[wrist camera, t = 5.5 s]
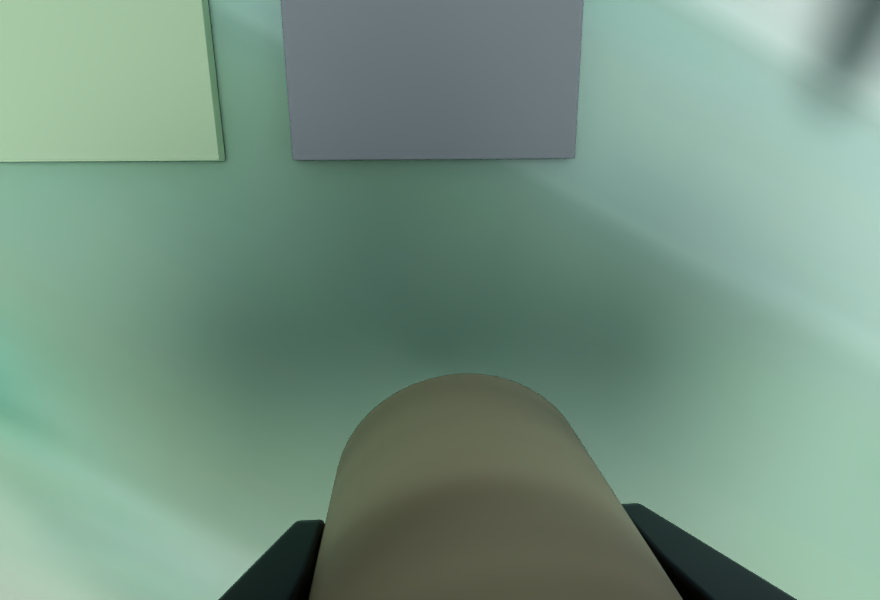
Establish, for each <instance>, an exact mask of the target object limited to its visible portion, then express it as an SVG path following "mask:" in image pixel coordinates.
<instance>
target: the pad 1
mask: <svg viewBox="0 0 880 600" xmlns="http://www.w3.org/2000/svg"><path fill="white" fill-rule="evenodd" d="M87 161H225V153H224V144H223V135H222V126H221V116H220V107H219V98H218V88H217V79H216V70H215V60H214V51H213V42H212V33H211V23H210V14H209V5H208V0H0V162H87Z"/></svg>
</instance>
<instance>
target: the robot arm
mask: <svg viewBox="0 0 880 600" xmlns="http://www.w3.org/2000/svg"><path fill="white" fill-rule="evenodd" d="M621 505H622V506H623V508H624V509H625V511H626V512H627V514H628V515H629V517H630V519H631V520H632V522H633V523H634V525H635V526H636V528H637V529H638V531H639V532H640V534H641V536H642V537H643V539H644V540H645V542H646V543H647V545H648V546H649V548H650V549H651V551H652V553H653V554H654V556H655V557H656V559H657V560H658V562H659V563H660V565H661V566H662V568H663V570H664V571H665V573H666V574H667V576H668V577H669V579H670V580H671V582H672V584H673V585H674V587H675V588H676V590H677V591H678V593H679V594H680V596H681V597H682V599H683V600H797V599H795V598H794V597H792V596H790V595H789V594H787V593H785V592H784V591H782V590H780V589H779V588H777V587H775V586H774V585H772V584H771V583H769V582H767V581H766V580H764V579H762V578H761V577H759V576H757V575H756V574H754V573H753V572H751V571H749V570H748V569H746V568H744V567H743V566H741V565H739V564H738V563H736V562H735V561H733V560H731V559H730V558H728V557H726V556H725V555H723V554H721V553H720V552H718V551H717V550H715V549H713V548H712V547H710V546H708V545H707V544H705V543H703V542H702V541H700V540H699V539H697V538H695V537H694V536H692V535H690V534H689V533H687V532H685V531H684V530H682V529H681V528H679V527H677V526H676V525H674V524H672V523H671V522H669V521H667V520H666V519H664V518H663V517H661V516H659V515H658V514H656V513H654V512H653V511H651V510H649V509H648V508H646V507H645V506H643V505H641V504H638V503H631V504H621ZM324 527H325V523H324V522H323V521H322V520H301V521H297V522H295V523H294V524H293V525H292V526H291V527H290V528H289V529H288V530H287V531H286V532H285V533H284V534H283V535H282V536H281V537H280V538H279V539H278V540H277V541H276V542H275V543H274V544H273V545H272V546H271V547H270V548H269V549H268V550H267V551H266V552H265V553H264V554H263V555H262V556H261V557H260V558H259V559H258V560H257V561H256V562H255V563H254V564H253V565H252V566H251V567H250V568H249V569H248V570H247V571H246V572H245V573H244V574H243V575H242V576H241V577H240V578H239V579H238V580H237V581H236V582H235V583H234V584H233V585H232V586H231V587H230V588H229V589H228V590H227V591H226V592H225V594H224V595H223V596H222V597H221V598H220V599H219V600H308V599H309V594H310V590H311V585H312V581H313V576H314V572H315V567H316V563H317V558H318V554H319V549H320V545H321V540H322V536H323V531H324Z"/></svg>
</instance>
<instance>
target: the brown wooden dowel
mask: <svg viewBox="0 0 880 600" xmlns="http://www.w3.org/2000/svg"><path fill="white" fill-rule="evenodd" d="M308 600H683V599H682V597H681V596H680V594H679V593H678V591H677V590H676V588H675V587H674V585H673V584H672V582H671V580H670V579H669V577H668V576H667V574H666V573H665V571H664V570H663V568H662V566H661V565H660V563H659V562H658V560H657V559H656V557H655V556H654V554H653V553H652V551H651V549H650V548H649V546H648V545H647V543H646V542H645V540H644V539H643V537H642V536H641V534H640V532H639V531H638V529H637V528H636V526H635V525H634V523H633V522H632V520H631V519H630V517H629V515H628V514H627V512H626V511H625V509H624V508H623V506H622V505H621V503H620V502H619V500H618V498H617V497H616V495H615V494H614V492H613V491H612V489H611V488H610V486H609V485H608V483H607V481H606V480H605V478H604V477H603V475H602V474H601V472H600V471H599V469H598V468H597V466H596V464H595V463H594V461H593V460H592V458H591V457H590V455H589V454H588V452H587V450H586V449H585V447H584V446H583V444H582V443H581V441H580V440H579V438H578V437H577V435H576V433H575V432H574V430H573V429H572V427H571V426H570V424H569V423H568V422H567V420H566V419H565V417H564V416H563V415H562V414H561V413H560V412H559V411H558V410H557V408H556V407H555V406H554V405H552V404H551V403H550V402H549V401H547V400H546V399H545V398H544V397H543V396H541V395H539V394H538V393H536V392H534V391H533V390H531V389H530V388H528V387H525V386H523V385H521V384H518V383H516V382H514V381H511V380H507V379H504V378H500V377H496V376H490V375H483V374H453V375H444V376H440V377H435V378H430V379H427V380H424V381H421V382H418V383H415V384H413V385H410V386H408V387H406V388H404V389H402V390H400V391H398V392H396V393H395V394H393V395H392V396H390V397H389V398H387V399H386V400H384V401H383V402H381V403H380V404H379V405H378V406H377V407H375V408H374V409H373V410H372V411H371V412H370V413H369V414H368V415H367V416H366V417H365V418H364V419H363V420H362V422H361V423H360V424H359V425H358V426H357V428H356V429H355V431H354V432H353V434H352V435H351V437H350V438H349V440H348V442H347V444H346V446H345V448H344V450H343V452H342V455H341V459H340V462H339V465H338V468H337V473H336V477H335V482H334V486H333V491H332V495H331V500H330V504H329V509H328V513H327V518H326V522H325V527H324V531H323V536H322V540H321V545H320V549H319V554H318V558H317V563H316V567H315V572H314V576H313V581H312V585H311V590H310V594H309V599H308Z"/></svg>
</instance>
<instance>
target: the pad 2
mask: <svg viewBox="0 0 880 600" xmlns="http://www.w3.org/2000/svg"><path fill="white" fill-rule="evenodd" d="M281 11H282V25H283V38H284V51H285V64H286V77H287V90H288V104H289V117H290V130H291V143H292V156H293V160H407V159H567V158H575V144H576V126H577V108H578V90H579V72H580V54H581V36H582V18H583V0H281Z"/></svg>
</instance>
